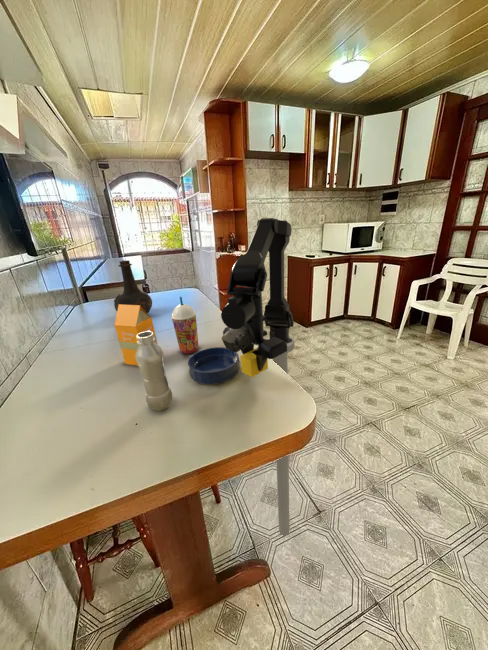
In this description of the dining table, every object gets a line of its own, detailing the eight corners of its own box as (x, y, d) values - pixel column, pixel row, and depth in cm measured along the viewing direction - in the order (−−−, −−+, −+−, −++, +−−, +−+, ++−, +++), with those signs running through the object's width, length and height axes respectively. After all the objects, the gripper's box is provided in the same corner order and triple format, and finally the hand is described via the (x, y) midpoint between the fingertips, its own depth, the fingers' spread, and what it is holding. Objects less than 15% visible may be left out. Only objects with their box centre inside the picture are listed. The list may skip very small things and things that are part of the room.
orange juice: (140, 353, 97) (127, 300, 89) (160, 355, 94) (148, 301, 86) (124, 364, 90) (109, 308, 83) (145, 367, 87) (131, 309, 80)
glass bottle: (121, 312, 144) (107, 260, 133) (155, 308, 147) (144, 256, 137) (114, 324, 128) (98, 265, 117) (153, 318, 131) (140, 261, 120)
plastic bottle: (150, 417, 64) (131, 343, 57) (146, 402, 70) (128, 333, 62) (177, 408, 67) (162, 336, 59) (170, 394, 73) (156, 326, 65)
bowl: (220, 354, 92) (219, 342, 90) (250, 370, 81) (249, 357, 79) (181, 372, 83) (178, 359, 81) (208, 393, 72) (206, 379, 70)
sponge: (257, 363, 75) (256, 347, 74) (267, 368, 73) (267, 352, 71) (241, 372, 72) (240, 355, 70) (251, 377, 69) (250, 360, 67)
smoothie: (173, 354, 95) (162, 300, 87) (186, 343, 102) (177, 293, 94) (193, 356, 91) (184, 301, 84) (205, 346, 99) (197, 293, 91)
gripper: (203, 314, 68) (210, 367, 74) (252, 333, 55) (256, 396, 61) (236, 303, 75) (241, 352, 81) (288, 318, 61) (288, 376, 67)
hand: (254, 367), depth 72 cm, fingers closed on sponge, 4 cm apart
